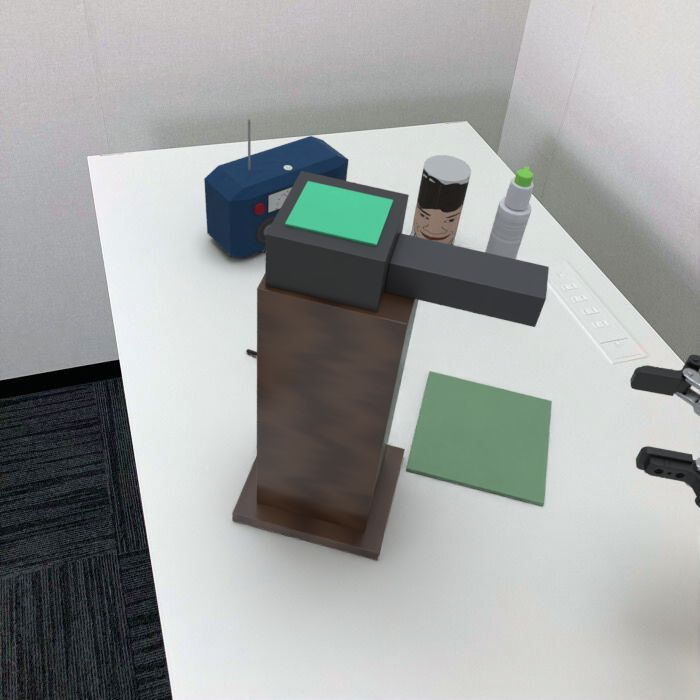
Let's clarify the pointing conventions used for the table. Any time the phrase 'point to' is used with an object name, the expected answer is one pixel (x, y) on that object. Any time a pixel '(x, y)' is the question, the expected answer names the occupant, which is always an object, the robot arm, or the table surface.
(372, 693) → the table surface
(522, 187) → the bottle
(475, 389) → the mat
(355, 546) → the stand
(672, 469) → the robot arm
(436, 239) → the printed can
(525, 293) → the green-topped block with handle
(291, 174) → the radio
